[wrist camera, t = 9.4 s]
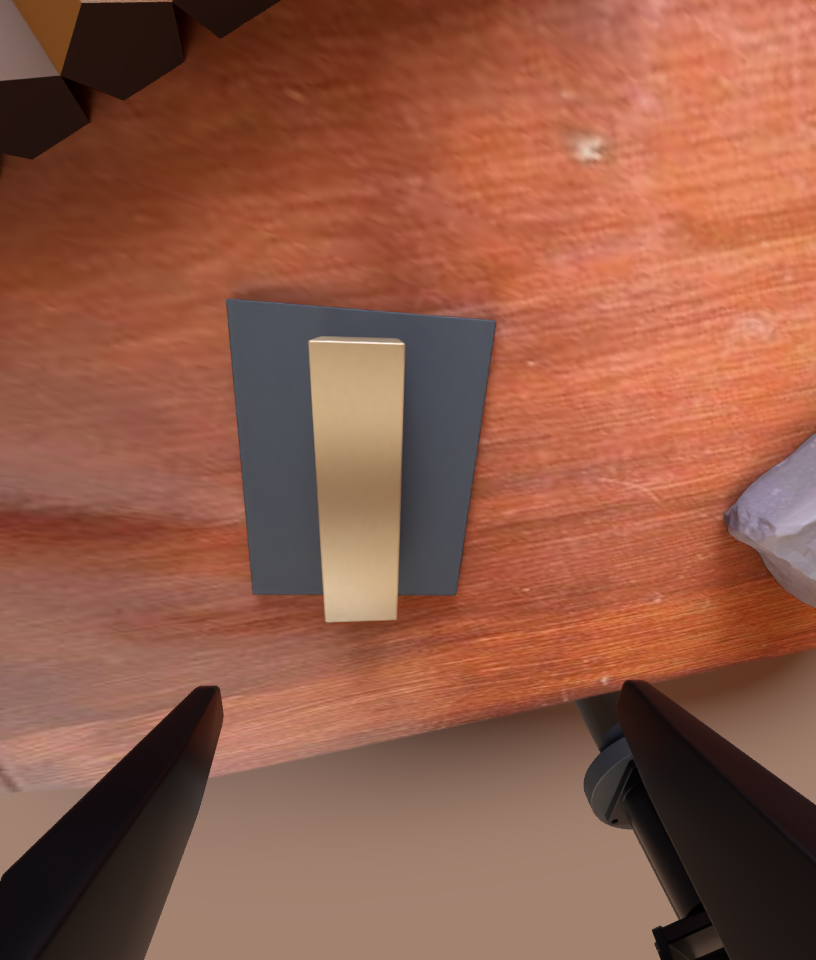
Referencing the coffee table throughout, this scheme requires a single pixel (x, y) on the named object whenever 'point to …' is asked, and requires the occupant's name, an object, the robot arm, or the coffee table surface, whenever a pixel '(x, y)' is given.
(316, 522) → the grey mat
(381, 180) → the coffee table surface
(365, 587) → the maple bar
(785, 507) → the stone block
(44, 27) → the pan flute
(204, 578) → the coffee table surface
